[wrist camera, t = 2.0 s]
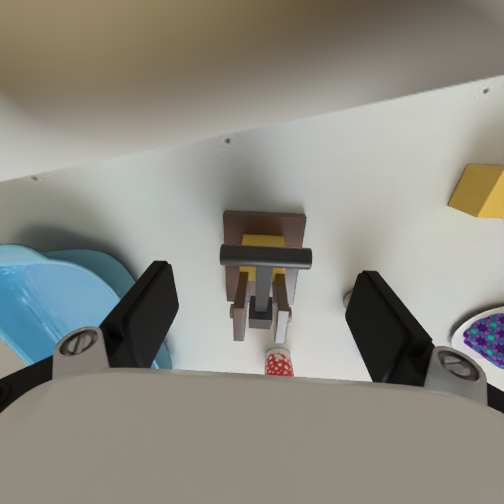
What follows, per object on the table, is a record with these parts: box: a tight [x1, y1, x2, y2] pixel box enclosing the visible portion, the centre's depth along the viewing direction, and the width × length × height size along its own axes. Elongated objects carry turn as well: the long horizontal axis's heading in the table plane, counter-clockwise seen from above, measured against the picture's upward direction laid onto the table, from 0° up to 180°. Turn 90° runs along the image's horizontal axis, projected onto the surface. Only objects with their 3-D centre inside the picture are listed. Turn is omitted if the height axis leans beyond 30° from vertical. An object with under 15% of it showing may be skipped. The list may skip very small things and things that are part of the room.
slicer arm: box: [220, 244, 312, 329], centre depth 18 cm, size 12×6×2 cm, turn 179°
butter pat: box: [448, 164, 504, 219], centre depth 22 cm, size 4×6×4 cm
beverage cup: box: [264, 348, 294, 377], centre depth 34 cm, size 6×6×14 cm
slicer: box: [223, 211, 306, 344], centre depth 25 cm, size 14×10×12 cm
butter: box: [240, 234, 285, 282], centre depth 26 cm, size 4×5×5 cm
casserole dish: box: [0, 244, 172, 369], centre depth 35 cm, size 37×22×7 cm, turn 7°
